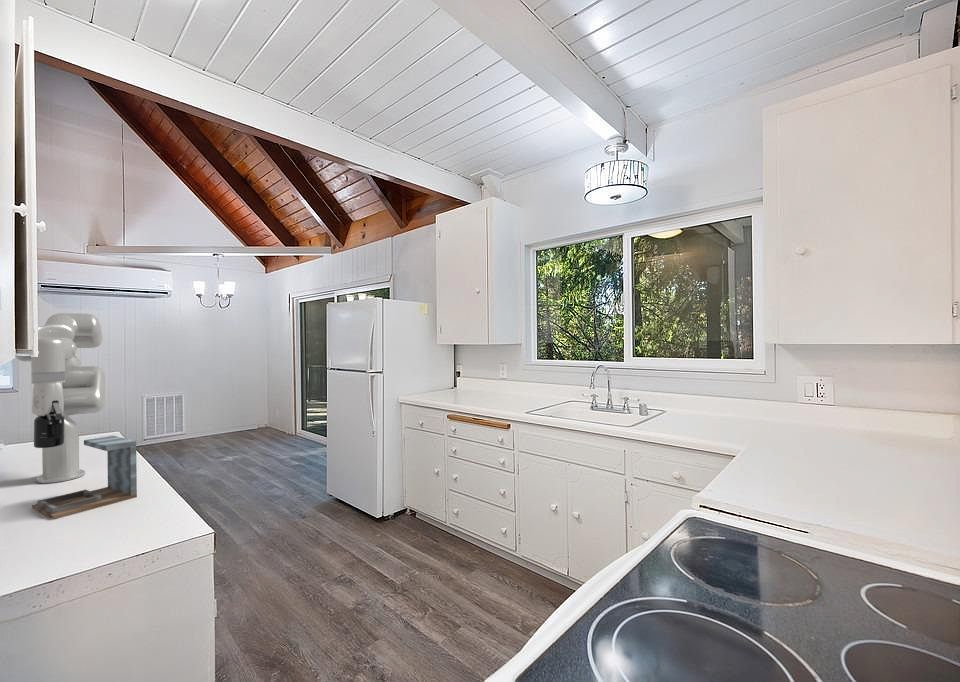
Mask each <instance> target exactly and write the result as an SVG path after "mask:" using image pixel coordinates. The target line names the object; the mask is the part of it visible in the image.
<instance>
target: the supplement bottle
mask: <svg viewBox="0 0 960 682" xmlns="http://www.w3.org/2000/svg"><path fill="white" fill-rule="evenodd" d="M49 414H54V413H49ZM51 419H52V417H51ZM64 421H65V419H64V416H62V415H61V436H59V437H52V438H47V425H49V424H48V420H47V415H45V416H37V417H35V419H34V420H33V447H34V448H37V449H42V448H48V447H56V446H60V445H63V444H64Z"/></svg>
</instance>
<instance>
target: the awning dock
mask: <svg viewBox="0 0 960 682" xmlns="http://www.w3.org/2000/svg"><path fill="white" fill-rule="evenodd" d="M83 446H86V447H89V448H94V449H97V450H100V451H104V452H107V453H106V454H107V486H106V487H101V488H97V489H93V490H89V489H88V490H87V489H83V490H78V491H73V492H69V493H66V494H61V495H57V496H53V497H48V498H44V499H41V500H37V502H36V504H32V505H31V509H32V510H34V511H35V512H38V513H40V514H42V515H43V516H45V517H47V516H48V517H47V518H49V517H50V518H49V519H51V518H52V519H51V520H57V519H61V518H64V517H67V516H71V515H75V514H79V513H83V512H86V511H90V510H94V509H97V508H102V507H106V506H108V505H112V504H117V503H120V502H124V501H128V500H131V499H134V498H137V497H138V494H137V493H138V484H137V481H138V480H137V476H138V475H137V474H138V473H137V471H138V470H137V440H133V439H129V438H125V437H121V436H117V435H108V436H101V437H96V438H95V437H94V438H89V439H84V440H83Z"/></svg>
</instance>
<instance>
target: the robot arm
mask: <svg viewBox="0 0 960 682" xmlns="http://www.w3.org/2000/svg"><path fill="white" fill-rule="evenodd" d="M37 328H38V351H39V354H38V357H31V356H16V357H15V358H16V359H17V360H19V361H22V362H30V368H31V369H30V370H31V371H30V373H31V377H30V378H31V379H30V380H31V384H33V389H32V401H31V402H32V403H31V412H32V414H33V415H36V416H37V417H38V416H45V415H47V420H48V424H49V425H47V438H52V437H59V436H61V415H62V416H64V419H65V421H64V444H63V445H60V446H56V447H48V448H41V452H42V458H41V459H42V461H41V463H42V475H39V476H38V477H36V480H35V481H36V483H38V484H51V483H59V482H65V481H71V480H75V479H78V478H81V477H83V476H84V475H86V470H85V469H80V427H79V425H78V423H77V422H76V421H75V420H73V419H72V417H70V416H74V415H85V414H87V415H88V414H95V413H99V412H100V411H102V410H103V408H104V406H105V395H106V393H105V391H106V389H105V388H106V375H105V371H104V370H103V368H101V367H99V366H95V365H94V366H93V365H91V366H90V365H89V366H88V365H86V366H85V365H83V366H81V360H80V358H79V357H78V356H77V352H78V351H77V350H78V349H95V348H98V347H100V346H101V344H102V342H103V332H102V328H101V324H100V321H99V319H98V318H97V316H96V315H94V314H92V313H73V312H70V313H69V312H61V313H54V314H52V315H51V316H49V317H48V318H47V319H46V322H45V324H44V325H42V326H39V327H37ZM49 413H54V414H49ZM51 417H52V419H51Z"/></svg>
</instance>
